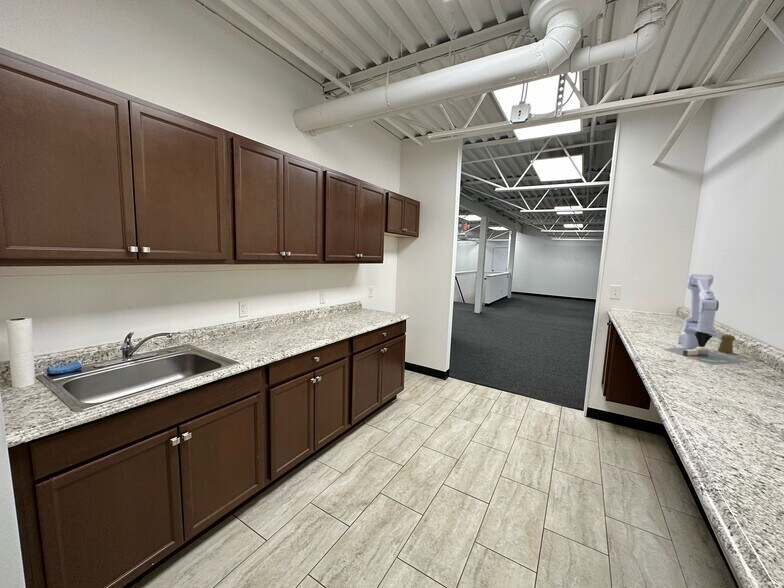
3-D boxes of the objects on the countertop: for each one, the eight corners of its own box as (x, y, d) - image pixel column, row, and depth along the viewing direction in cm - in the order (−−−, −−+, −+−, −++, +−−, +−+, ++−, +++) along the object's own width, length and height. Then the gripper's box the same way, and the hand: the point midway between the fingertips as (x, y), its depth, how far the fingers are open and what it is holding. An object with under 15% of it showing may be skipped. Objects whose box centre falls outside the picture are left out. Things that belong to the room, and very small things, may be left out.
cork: (736, 356, 167) (739, 336, 165) (722, 355, 168) (726, 335, 166) (726, 352, 173) (730, 333, 171) (713, 351, 174) (717, 332, 172)
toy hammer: (698, 352, 168) (699, 346, 168) (710, 355, 163) (711, 349, 162) (678, 353, 166) (679, 347, 165) (689, 356, 160) (690, 350, 160)
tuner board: (661, 350, 174) (661, 348, 174) (694, 349, 178) (694, 346, 178) (711, 367, 151) (711, 364, 150) (747, 364, 154) (748, 362, 154)
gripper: (684, 319, 169) (680, 342, 171) (716, 325, 154) (711, 351, 157) (695, 318, 170) (691, 342, 172) (727, 325, 156) (722, 350, 158)
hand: (701, 346), depth 164 cm, fingers closed
